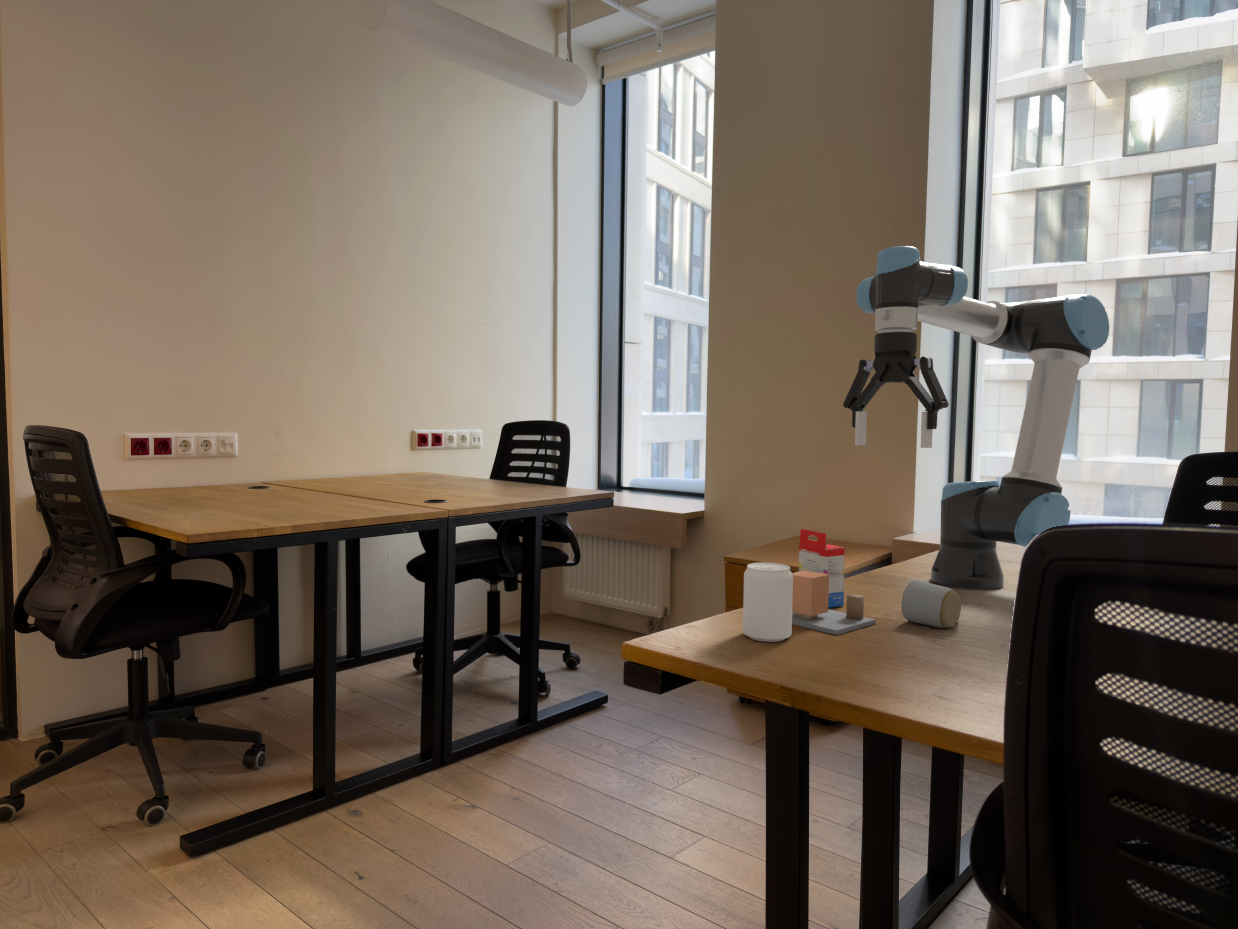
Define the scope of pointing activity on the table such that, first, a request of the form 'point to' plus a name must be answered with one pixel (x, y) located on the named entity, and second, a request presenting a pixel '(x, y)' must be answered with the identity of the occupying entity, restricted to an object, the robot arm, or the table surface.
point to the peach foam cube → (810, 593)
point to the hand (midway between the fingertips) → (892, 446)
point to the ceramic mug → (930, 604)
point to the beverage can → (767, 602)
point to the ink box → (823, 563)
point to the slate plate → (838, 618)
